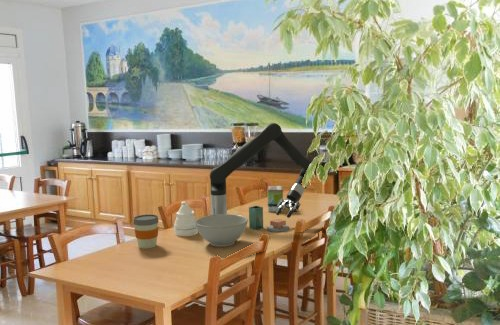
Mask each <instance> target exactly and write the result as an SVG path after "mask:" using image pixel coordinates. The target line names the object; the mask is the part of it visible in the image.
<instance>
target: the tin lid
mask: <svg viewBox="0 0 500 325" xmlns="http://www.w3.org/2000/svg"><path fill="white" fill-rule="evenodd" d="M286 222H287V220H285V219H281V218H276V219H272V220H269V224H270V225H269V226H271V225H272V226H273V228H277V229H279V228H283V226H284V225H286V226H287V223H286Z"/></svg>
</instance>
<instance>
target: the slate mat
mask: <svg viewBox="0 0 500 325" xmlns="http://www.w3.org/2000/svg"><path fill="white" fill-rule="evenodd" d="M266 230H267V231H268V232H271V233H284V232H288V231H290V230H291V227H290V226H288V225H287V224H286V225H284V226H283V228H279V229H277V228H273V226H272V225H268V226H266Z"/></svg>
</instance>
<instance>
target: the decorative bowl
mask: <svg viewBox="0 0 500 325" xmlns="http://www.w3.org/2000/svg"><path fill="white" fill-rule="evenodd" d="M248 221H249V218H247V217H246V216H243V215H238V214H230V213H229V214H228V213H227V214H219V215H206V216H202V217H199V218H197V219H196V221H195V224H196V227H197V230H198V233H199V235H200V236H201V237H202V238H203V239H204V240H205V241H206V242H208V243H209V244H210V245H211V246H213V247H217V248H218V247H220V248H221V247H222V248H224V247H229V246H232V245H234V244H235V242H236V241H237V240H239V239H240V238H241V236H243V234H244V232H245V230H246V228H247V226H248V223H249V222H248Z"/></svg>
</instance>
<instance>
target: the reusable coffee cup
mask: <svg viewBox="0 0 500 325" xmlns="http://www.w3.org/2000/svg"><path fill="white" fill-rule="evenodd" d="M133 225H134V233H135V234H134V235H135V238H136V241H137V246H138V248H139V249H151V248H155V247H156V246H157V240H158V236H159V226H158V225H159V216H158V215H156V214H141V215H136V216H134V217H133Z"/></svg>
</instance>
